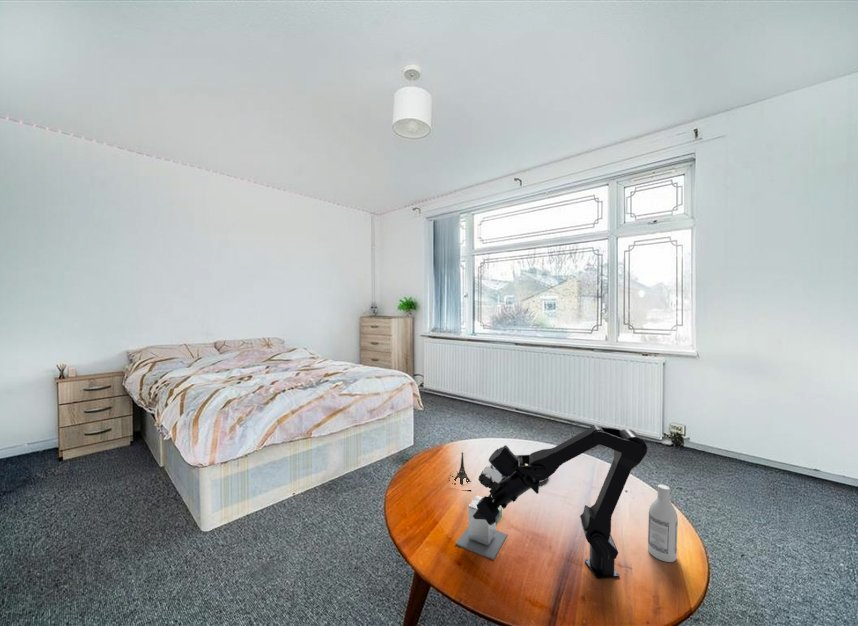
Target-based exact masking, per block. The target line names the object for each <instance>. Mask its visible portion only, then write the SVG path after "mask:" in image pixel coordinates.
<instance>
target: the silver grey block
mask: <svg viewBox="0 0 858 626" xmlns="http://www.w3.org/2000/svg"><path fill="white" fill-rule="evenodd" d="M482 498H484V496H479V495H476V496H475V497H474V499H472V501H471V502H470V503H469V504H468V516H467V517H468V519H467V520H468V522H467V524H468V526H467V527H468V538H469V539H472V540H474V541H477V542H480V543H482V544H485V545H489V544H490V542H491V540H492V539H493V537H494V536H495V534H496V531H497V529H496V527H497V522H495V523H494V524H492V525H489V524H488V522H487V521H486V520H484V519H474V517H473V515H474V514H475V512H476V511H477V510H478V508H477V504H478V502H479V501H480V500H481V499H482Z"/></svg>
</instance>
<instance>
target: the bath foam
mask: <svg viewBox="0 0 858 626" xmlns="http://www.w3.org/2000/svg"><path fill="white" fill-rule="evenodd" d="M670 495H671V488H670V487H669V486H668V485H665V484H663V483H662V484H661V483H660V484H658V485H657V497H656V498H655V499H654V500H653V501H652V502H651V504H650V505H649V508H648V525H647V526H648V529H647V530H648V531H647V550H648V552H649V554H651V555H652V556H653V557H654V558H656V559H657V560H660V561H663V562H664V563H673V562H675V561H676V560H677V554H678V553H677V551H678V523H679V522H678V513H677V510H676V508H675V507H674V505H673V503H672V502H671V501H670V500H671V499H670Z"/></svg>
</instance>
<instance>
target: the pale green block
mask: <svg viewBox="0 0 858 626" xmlns="http://www.w3.org/2000/svg"><path fill="white" fill-rule="evenodd" d="M498 510H499V511H500V516H499V518H498V519H497V521H496V523H499V521H500V520H501V518H502V516H503V508H502V507H500V506H499V508H498Z"/></svg>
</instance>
